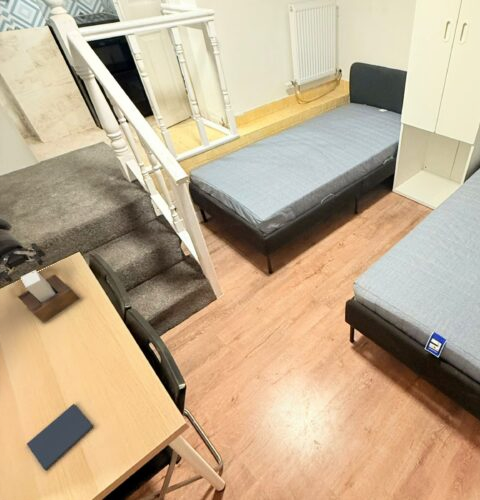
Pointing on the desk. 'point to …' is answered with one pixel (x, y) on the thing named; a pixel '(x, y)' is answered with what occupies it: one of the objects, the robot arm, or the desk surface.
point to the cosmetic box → (38, 286)
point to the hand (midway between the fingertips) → (25, 271)
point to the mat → (59, 436)
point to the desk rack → (50, 300)
